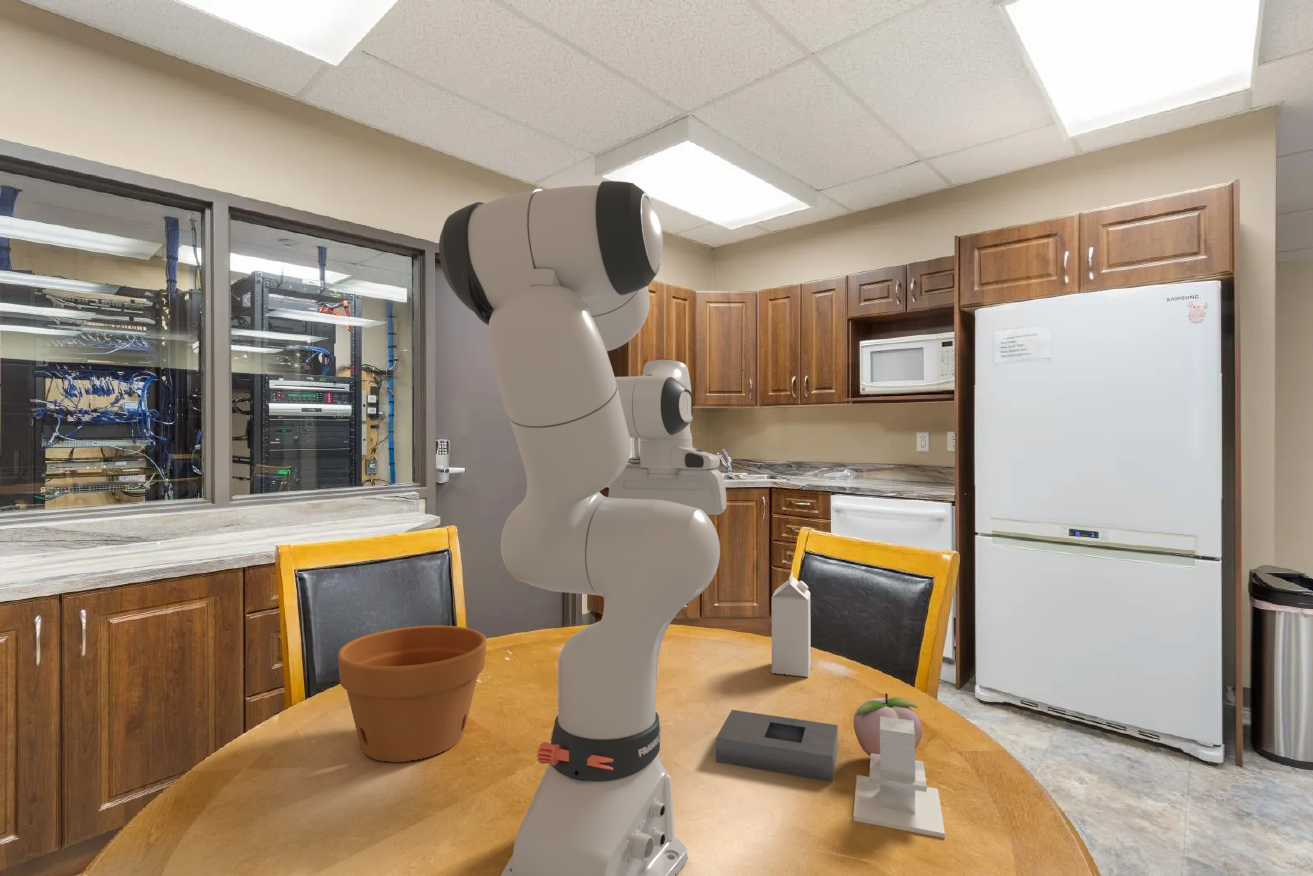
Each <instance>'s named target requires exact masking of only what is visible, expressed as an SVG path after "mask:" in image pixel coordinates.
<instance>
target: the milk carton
mask: <svg viewBox="0 0 1313 876" xmlns="http://www.w3.org/2000/svg"><path fill="white" fill-rule="evenodd" d="M811 637H812V636H811V592H810V590H809V586H808V585H807V584H806V583H805V582H804V581H803V580H799V581H798V579H796V578H795V577H794V571H791V574H790V575H789V578H788V579H787V580H786V581H785V582H784V583H783V584H781V585H780V586H778V587H777V588H776V589H775V590H774V592H773V595H772V596H771V673H772V674H775V673H776V674H777V675H784V674H785V676H795V677H805V678H808V677H809V676H810V670H811V666H810V665H811V661H812V659H811V657H812V656H811V651H812V650H811V641H812V639H811Z"/></svg>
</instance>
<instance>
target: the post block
mask: <svg viewBox="0 0 1313 876" xmlns="http://www.w3.org/2000/svg"><path fill="white" fill-rule="evenodd" d="M838 729H839V727H838V724H834V723H833V724H832V723H826V722H825V723H824V722H819V721H811V720H805V719H798V718H791V717H784V716H778V715H777V716H776V715H772V714H764V713H757V712H751V711H743V710H736V709H731V710H730V712H729V714H728V716H727V718H726V719H725V722H723V725H722V726H721V728H720V730H719V732H718V733H717V735H716V737H715V762H716V763H720V764H727V765H733V766H736V767H737V766H739V767H742V768H743V767H744V768H748V769H755V770H759V771H766V772H772V773H777V774H783V775H788V776H794V777H800V778H806V779H812V780H816V781H817V780H818V781H822V782H829V783H833V782H834V776H835V771H836V770H835V769H836V763H837V756H838V750H839V748H838V747H839V743H838V742H839V740H838V739H839V733H838V732H839V730H838Z"/></svg>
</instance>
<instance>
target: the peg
mask: <svg viewBox="0 0 1313 876" xmlns="http://www.w3.org/2000/svg"><path fill="white" fill-rule="evenodd" d="M869 757H870V756H869ZM869 759H870V762H869V777H870V782H871V783H877V784H880V807H883V808H889V809H894V810H899V811H905V812H910V813H915V790H917V791H923V792H927V787H928V786H927V778H926V771H925V764H924V763H925V762H924V761H922V760H916V749H915V729H914V721H912V720H905V719H897V718H890V717H883V716H880V755H879V754H873V753H871V757H870V758H869Z"/></svg>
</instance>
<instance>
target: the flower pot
mask: <svg viewBox="0 0 1313 876" xmlns="http://www.w3.org/2000/svg"><path fill="white" fill-rule="evenodd" d="M486 651H487V637H486V635H485V634H483V633H482V632H480V631H478V630H476V629H472V628H469V627H464V626H454V625H437V624H436V625H435V624H434V625H418V626H417V625H414V626H406V627H399V628H392V629H388V630H383V631H378V632H375V633H371V634H368V635H364V636H360V637H358V638H355V639H353V640H351V641H349V642H347V643H345V644H344V645H343V646H342V647H341V648H340V649H339V650H338V652H337V653H338V655H337V659H338V661H337V662H338V674H339V675H338V676H339V684H340V686H341V688H343V689H344V690H345V691H346V692H347V693H346V694H347V696H348V702H349V705H350V708H351V714H352V718H353V722H354V726H355V730H356V733H357V737H358V741H359V744H360V748H361V750H362V753H363V754H364V755H366V756H367V755H368V756H369V757H368V756H367V757H368V758H370V757H371V758H370V759H372V758H373V759H372V760H375V759H376V761H379V760H381V761H380V762H384V761H388V762H387V763H404V762H406V761H407V762H412V761H411V760H415V761H419V760H418V759H420V760H424V759H428V758H430V756H431V757H434V756H436V754H437V755H439V753H440V754H442V753H443V751H444V752H445V751H448V750H450V749H451V748H454V746H455V745H457V743H458V742H460V740H461V739H462V738H463V735H464V733H465V729H466V727H467V722H468V719H469V715H470V710H471V705H472V700H473V697H474V693H475V688H476V685H477V680H478V677H479V675H480V674H481V673H482V671H483V670H484V668H485V663H486V654H487V652H486ZM449 748H450V749H449ZM441 752H442V753H441ZM433 755H434V756H433ZM427 757H428V758H427ZM423 758H424V759H423Z"/></svg>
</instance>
